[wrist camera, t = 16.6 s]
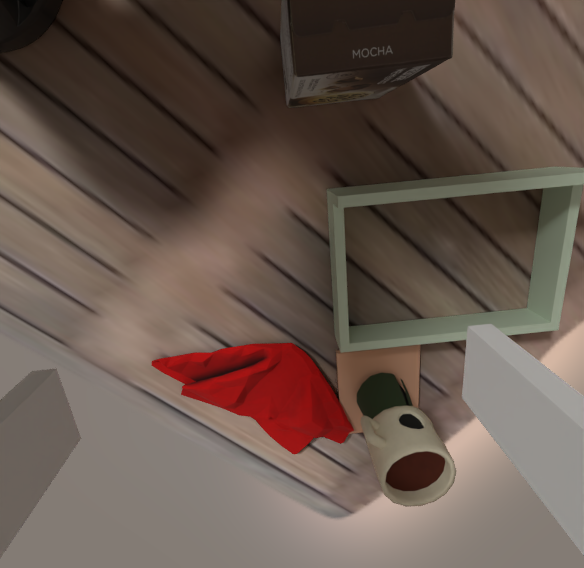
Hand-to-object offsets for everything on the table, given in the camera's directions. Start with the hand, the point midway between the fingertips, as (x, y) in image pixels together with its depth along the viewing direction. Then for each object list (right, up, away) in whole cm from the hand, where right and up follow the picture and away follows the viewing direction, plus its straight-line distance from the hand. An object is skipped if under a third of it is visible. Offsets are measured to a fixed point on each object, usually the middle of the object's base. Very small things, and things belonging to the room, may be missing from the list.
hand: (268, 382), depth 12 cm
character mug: (+12, -10, +34) cm, 37 cm away
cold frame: (+17, +6, +29) cm, 34 cm away
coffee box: (+4, +23, +23) cm, 33 cm away
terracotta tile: (+12, -10, +35) cm, 38 cm away
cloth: (-2, -9, +33) cm, 35 cm away
